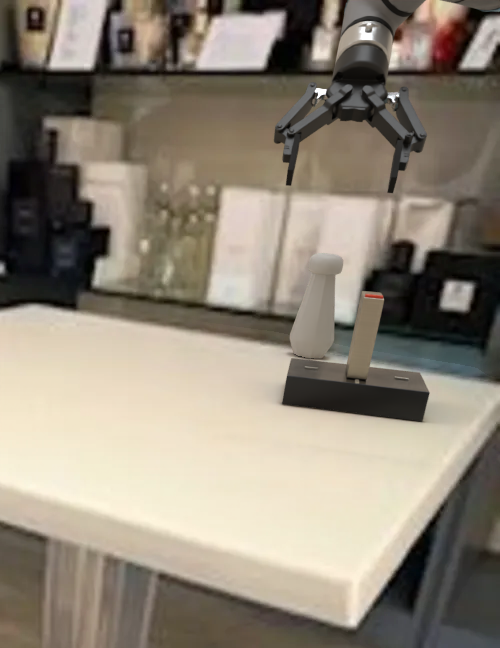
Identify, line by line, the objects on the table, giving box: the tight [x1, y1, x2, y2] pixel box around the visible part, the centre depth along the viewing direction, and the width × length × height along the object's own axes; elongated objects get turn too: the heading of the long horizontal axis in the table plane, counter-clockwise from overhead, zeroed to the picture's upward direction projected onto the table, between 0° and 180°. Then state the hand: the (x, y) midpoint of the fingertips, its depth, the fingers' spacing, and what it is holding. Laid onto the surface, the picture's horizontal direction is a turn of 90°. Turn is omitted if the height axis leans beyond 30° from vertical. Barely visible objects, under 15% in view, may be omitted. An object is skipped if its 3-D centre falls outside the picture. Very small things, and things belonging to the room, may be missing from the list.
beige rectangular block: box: [346, 290, 385, 380], centre depth 92 cm, size 6×2×8 cm, turn 163°
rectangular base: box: [281, 357, 431, 422], centre depth 94 cm, size 14×11×3 cm
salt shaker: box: [289, 252, 344, 360], centre depth 116 cm, size 6×6×13 cm
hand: (340, 181), depth 119 cm, fingers open, 13 cm apart
